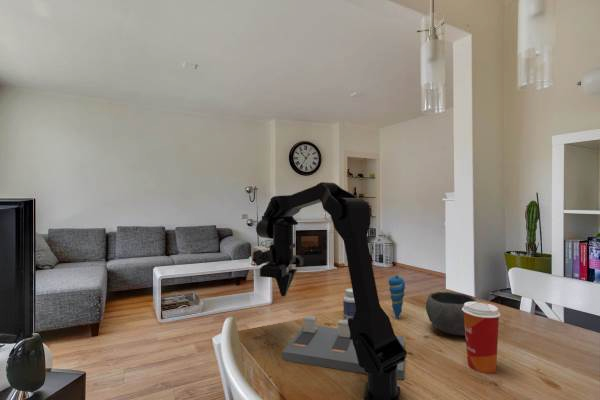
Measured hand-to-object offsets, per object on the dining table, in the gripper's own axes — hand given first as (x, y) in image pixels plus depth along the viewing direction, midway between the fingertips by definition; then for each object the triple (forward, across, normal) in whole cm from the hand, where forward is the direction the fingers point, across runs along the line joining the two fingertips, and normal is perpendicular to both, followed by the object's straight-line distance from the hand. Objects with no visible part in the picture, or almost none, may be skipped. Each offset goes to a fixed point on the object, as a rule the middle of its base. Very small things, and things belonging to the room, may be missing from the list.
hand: (283, 296), depth 87 cm
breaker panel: (+12, +2, +18) cm, 22 cm away
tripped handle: (+10, -3, +7) cm, 12 cm away
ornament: (+12, -26, +30) cm, 41 cm away
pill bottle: (+12, -20, +16) cm, 28 cm away
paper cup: (+12, 0, +49) cm, 50 cm away
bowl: (+12, -20, +46) cm, 52 cm away
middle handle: (+10, -2, +17) cm, 20 cm away
